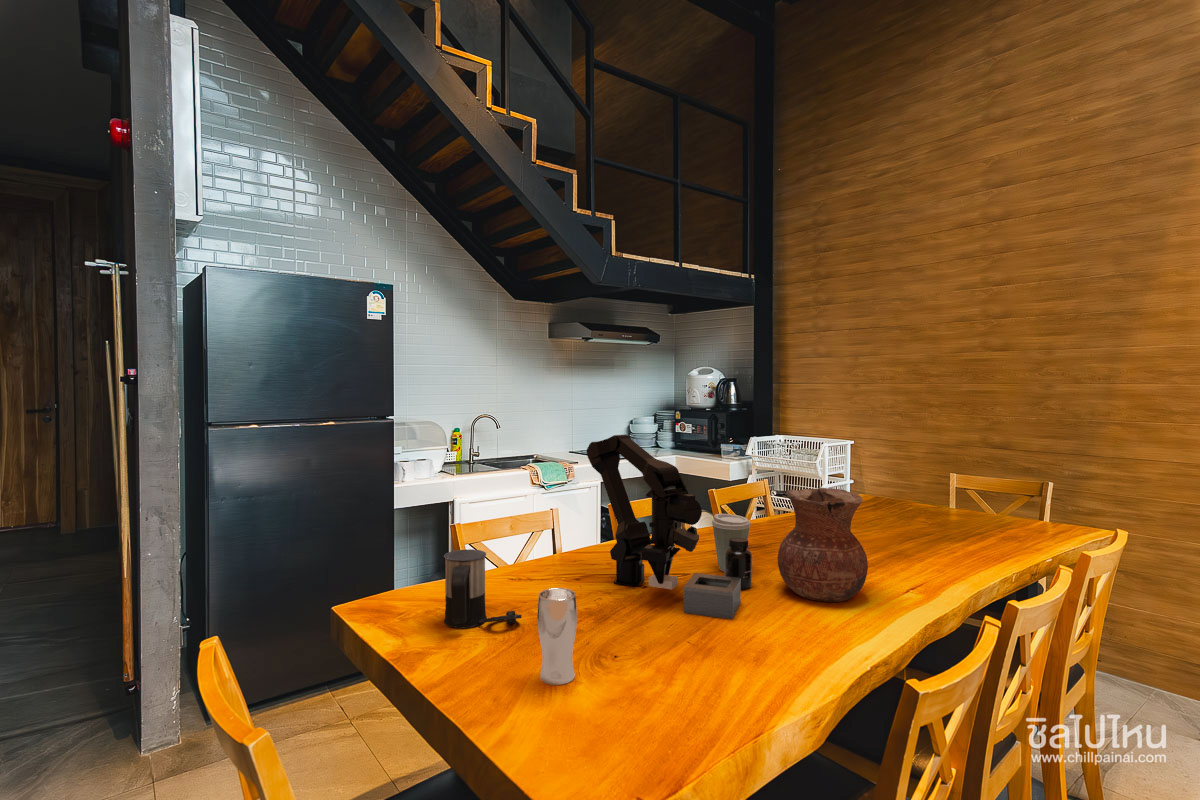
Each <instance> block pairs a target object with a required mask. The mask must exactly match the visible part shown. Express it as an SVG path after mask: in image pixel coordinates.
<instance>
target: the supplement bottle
mask: <svg viewBox="0 0 1200 800" xmlns="http://www.w3.org/2000/svg"><path fill="white" fill-rule="evenodd" d="M729 547H730V548H729V549H727V550H726V552H725V572H724V576H727V577H736V578H741V591H743V590H744V591H745V590H748V589H750V588H751V587H752V585H753V584H752V583H753V582H752V581H753V554H752V551H751V550H749V549H748V548H749V547H750V545H749V539H748V540H747V539H745V538H730V539H729Z"/></svg>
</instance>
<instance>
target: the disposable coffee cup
mask: <svg viewBox="0 0 1200 800" xmlns="http://www.w3.org/2000/svg"><path fill="white" fill-rule="evenodd" d="M711 525H712V529H713V537H714V545H715V552H716V557H717V558H716V559H717V565H718V567H719V570H720V571H721V572H724V573H725V552H726V550H727V549H729V548H730V547H729V539H730V538H745V539H747V540H748V541H749V534H750V528H751V520H749V518H747V517H744V516H741V515H738V514H731V513H716V514H715V515H713V519H712V521H711Z"/></svg>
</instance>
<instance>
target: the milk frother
mask: <svg viewBox="0 0 1200 800" xmlns="http://www.w3.org/2000/svg"><path fill="white" fill-rule="evenodd" d="M486 557H487V553H486V551H484V550H480V549H474V548H473V549H457V550H451V551H449V552H446V553H445V554H444V555H443V558H444V560H445V563H444V565H445V567H444V568H445V575H444V576H445V578H444V579H445V591H444V592H445V597H444V598H445V599H444V600H445V610H444V620H443V623H444V625H445V626H448V627H450V628H455V629H468V628H474V627H478V626H481V625H482V624H484V623H493V622H500V621H501V622H502V621H506V622H507V624H509V625H511V624H515V623H516V622H517V619H519V620H520V619H522V618H523V617H522V614H517V613H516V612H515V610H510V611H509V610H508V611H506V612H505V613H506V615H500V616H492V617H488V616H487V612H486V609H487V608H486Z"/></svg>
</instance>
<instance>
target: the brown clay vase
mask: <svg viewBox="0 0 1200 800" xmlns="http://www.w3.org/2000/svg"><path fill="white" fill-rule="evenodd" d="M785 494H786V496H787V497H788V499H789V500H790V503H791V505H792V508H793V512H794V516H795V523H794V524H795V526H794V527H793V529H791V530H790V531H789V532H788V534H786V536H785V537H784V538H783V539H782V541H781V543H780V545H779V549H778V550H777V551H778V552H777V557H776V558H777V567H778V570H779V573H780V574H779V575H780V576H781V578H782V580H783V582H784V583H785V585H786V586H787V587H788V588H789V589H790V590H791V591H792V592H793V593H795V594H797V595H798V596H800V597H802V598H804V599H807V600H813V601H818V602H823V603H840V602H841V603H842V602H846V601H849V600H850V599H852V598H853V597H854V596H855V595H857V594H858V593H859V592H860V591H861V590H862V589H863V586H864V584H865V583H866V579H867V576H868V575H867V574H868V570H869V567H868V566H869V565H868V564H869V562H868V556H867V554H866V551H865V549H864V547H863V545H862V544H861V543H860V541H859V539H858V538H857V537H856V536H855V534H853V533H852V530H851V529H852V528H851V527H852V521H853V517H854V515H855V513H856V511H857V510H858V509H859V507H860V506H861V505H862V503H863V498H862V496H861V495H859V494H857V493H855V492H850V491H847V490H845V489H841V488H840V489H839V488H830V487H829V488H828V487H827V488H826V487H818V488H803V489H800V490H796V489H789V490H786V492H785Z"/></svg>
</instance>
